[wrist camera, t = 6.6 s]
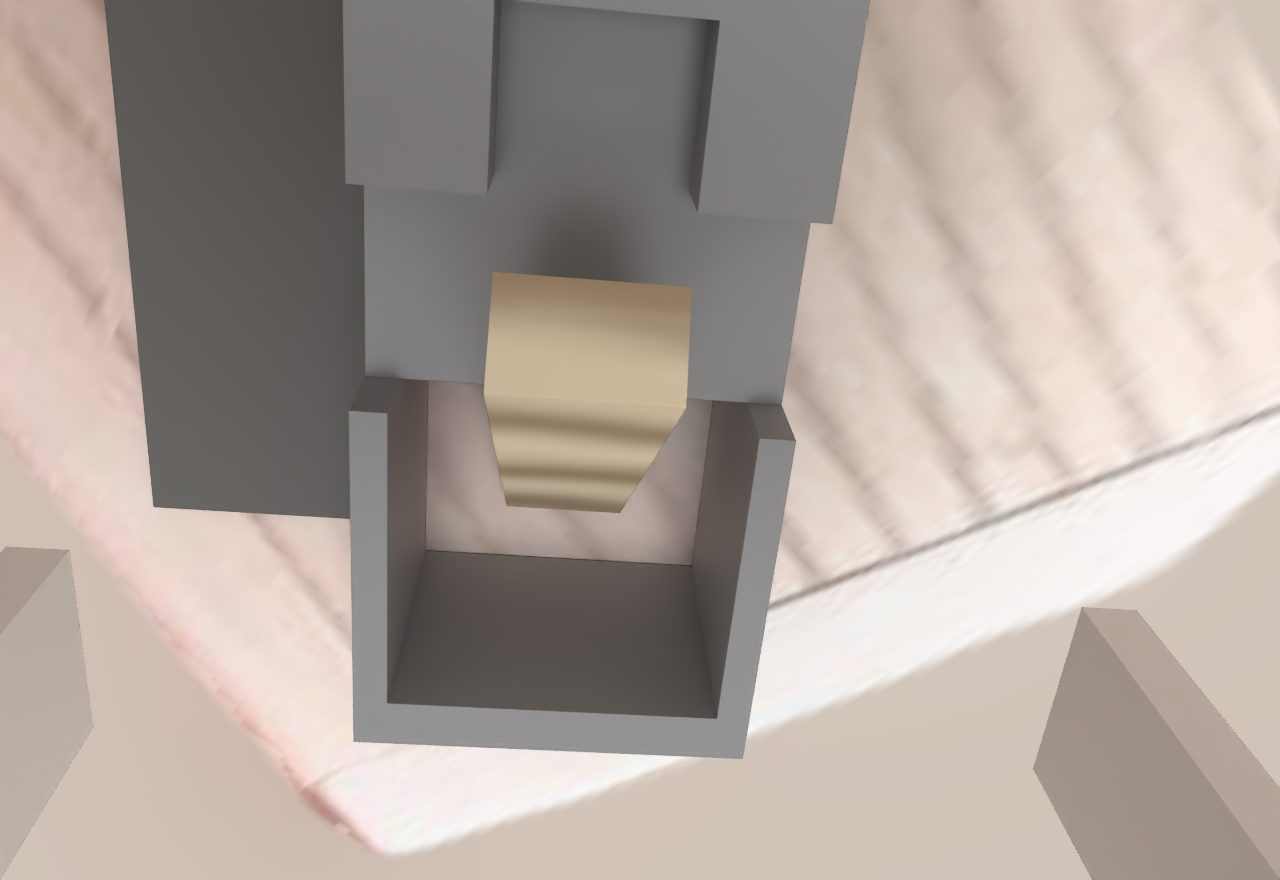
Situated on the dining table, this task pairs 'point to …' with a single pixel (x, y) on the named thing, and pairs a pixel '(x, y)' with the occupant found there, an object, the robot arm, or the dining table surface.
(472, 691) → the pocket block
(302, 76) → the rubber mat
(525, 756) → the dining table surface
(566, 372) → the birch bar
